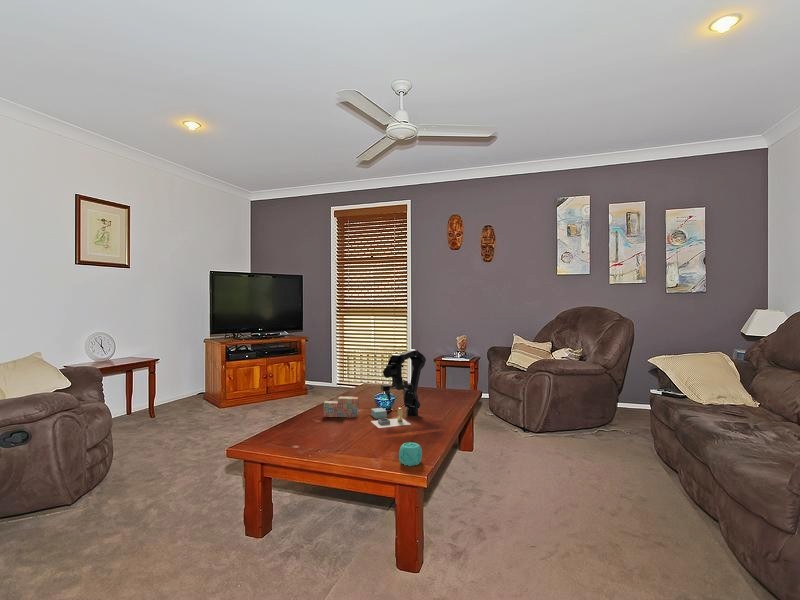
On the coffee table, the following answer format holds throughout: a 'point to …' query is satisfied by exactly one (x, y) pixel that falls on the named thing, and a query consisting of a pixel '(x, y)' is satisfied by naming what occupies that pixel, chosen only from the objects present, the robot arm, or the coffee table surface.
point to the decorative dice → (410, 454)
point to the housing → (379, 413)
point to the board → (389, 423)
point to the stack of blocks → (342, 407)
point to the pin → (400, 414)
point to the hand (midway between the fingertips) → (396, 401)
